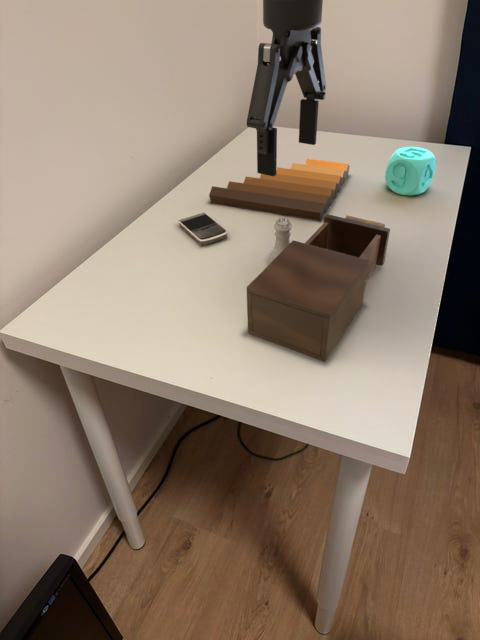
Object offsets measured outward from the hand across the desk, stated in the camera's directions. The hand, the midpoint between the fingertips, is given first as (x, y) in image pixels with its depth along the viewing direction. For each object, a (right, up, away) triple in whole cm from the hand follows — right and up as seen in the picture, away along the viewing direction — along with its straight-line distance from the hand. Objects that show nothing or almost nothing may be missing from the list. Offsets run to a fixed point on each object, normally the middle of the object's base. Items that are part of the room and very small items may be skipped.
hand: (288, 157), depth 74 cm
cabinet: (+3, -25, +1) cm, 25 cm away
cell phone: (-15, -7, +24) cm, 29 cm away
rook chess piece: (0, -14, +14) cm, 20 cm away
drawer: (+11, -15, +10) cm, 22 cm away
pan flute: (+2, +5, +38) cm, 38 cm away
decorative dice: (+30, +5, +36) cm, 47 cm away
